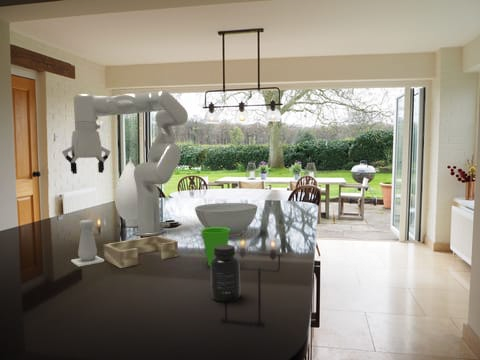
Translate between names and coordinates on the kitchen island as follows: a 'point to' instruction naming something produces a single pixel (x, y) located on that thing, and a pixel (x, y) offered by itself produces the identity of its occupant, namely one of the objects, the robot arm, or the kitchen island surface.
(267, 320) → the kitchen island surface
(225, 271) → the supplement bottle
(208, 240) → the cup
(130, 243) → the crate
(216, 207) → the decorative bowl
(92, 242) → the salt shaker
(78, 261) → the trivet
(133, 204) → the lamp
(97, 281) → the kitchen island surface
